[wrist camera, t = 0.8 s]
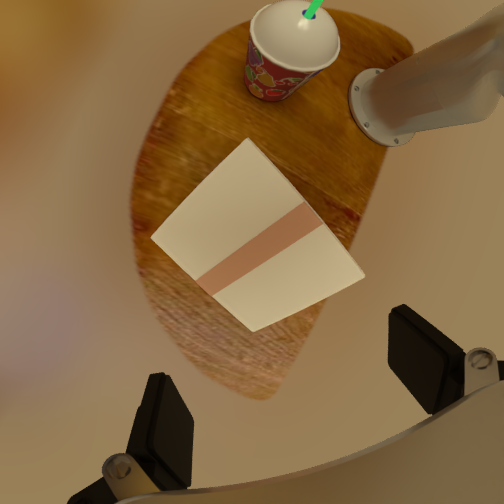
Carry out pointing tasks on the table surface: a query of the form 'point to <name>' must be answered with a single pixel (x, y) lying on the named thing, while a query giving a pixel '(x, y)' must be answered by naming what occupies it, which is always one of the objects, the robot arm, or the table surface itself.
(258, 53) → the smoothie
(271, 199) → the lid
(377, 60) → the table surface
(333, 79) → the table surface
